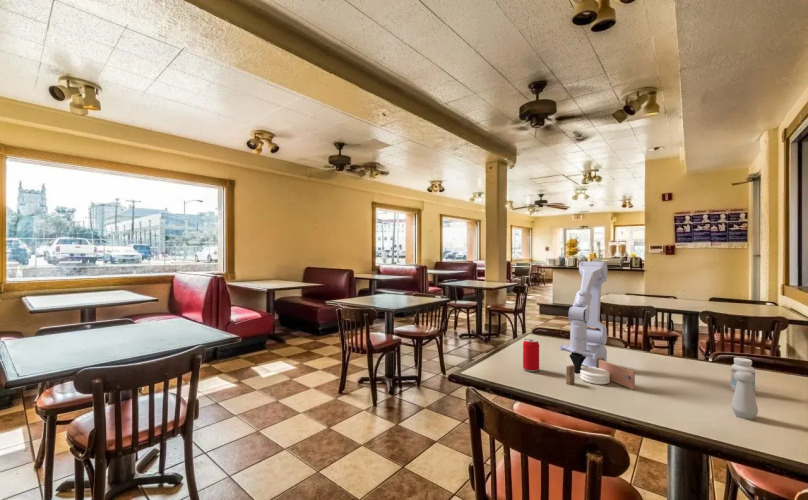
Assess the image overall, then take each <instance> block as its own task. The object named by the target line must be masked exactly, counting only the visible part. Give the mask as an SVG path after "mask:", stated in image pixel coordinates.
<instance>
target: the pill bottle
mask: <svg viewBox="0 0 808 500" xmlns="http://www.w3.org/2000/svg"><path fill="white" fill-rule="evenodd" d="M752 365H753V361H752V360H751V359H749V358H744V357H733V364H732V365H731V366H730V377H731V378H730V387H731V390H732V391H734V392H735V388H736V384H737V379H736V378H735V372H737V371H744V372H749V373H751V374H753V375H754V376H755V377H756V370H755V368H754V367H753V366H752ZM752 384H753V389H754V394H756V380H755V381H754V382H752Z"/></svg>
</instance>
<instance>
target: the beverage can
mask: <svg viewBox="0 0 808 500" xmlns="http://www.w3.org/2000/svg"><path fill="white" fill-rule="evenodd" d="M522 369H524V370H525V371H527V372H531V373H535V372H538V371H539V370H540V343H539V341H538V340H537V339H533V338H524V339H523V342H522Z"/></svg>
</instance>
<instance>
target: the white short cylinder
mask: <svg viewBox="0 0 808 500" xmlns="http://www.w3.org/2000/svg"><path fill="white" fill-rule="evenodd" d="M579 377H580V380H582V381H584V382H586V383H589V384H593V385H594V384H595V385H607V384H609V383H611V380H610V373H609V372H608V371H606V370H604V369H600V368H596V367H587V366H581V369H580V373H579Z"/></svg>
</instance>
